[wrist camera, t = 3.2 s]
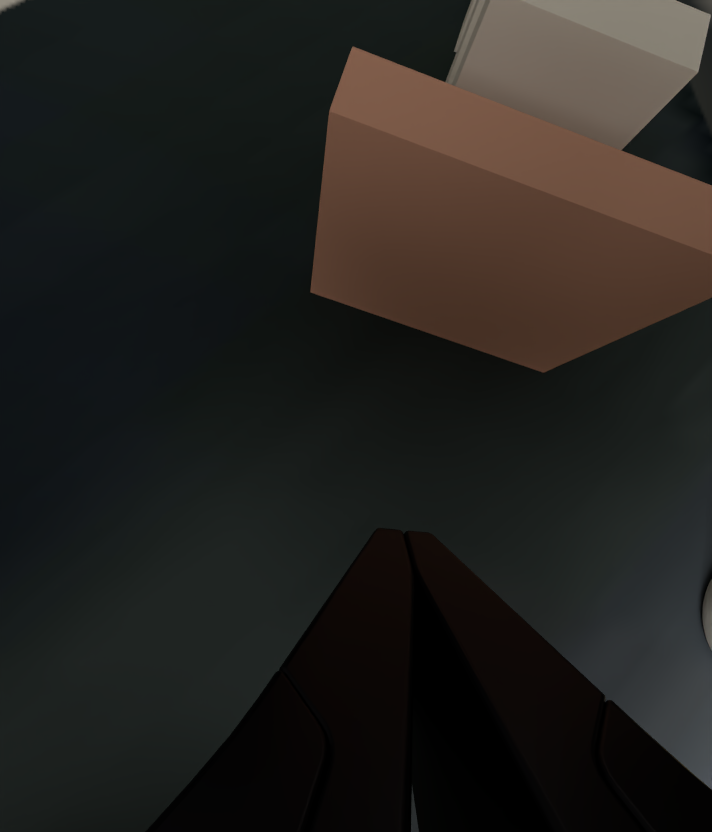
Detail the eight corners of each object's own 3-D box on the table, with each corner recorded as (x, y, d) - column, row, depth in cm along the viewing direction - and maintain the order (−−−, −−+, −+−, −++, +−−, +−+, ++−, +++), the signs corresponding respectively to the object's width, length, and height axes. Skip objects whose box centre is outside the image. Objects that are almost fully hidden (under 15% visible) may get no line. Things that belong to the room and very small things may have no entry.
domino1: (543, 372, 21) (763, 274, 11) (310, 292, 20) (328, 111, 10) (552, 336, 21) (775, 210, 12) (322, 256, 21) (352, 46, 11)
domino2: (512, 260, 22) (697, 72, 12) (400, 219, 21) (494, -11, 11) (521, 226, 22) (711, 15, 12) (410, 186, 21) (512, -68, 12)
